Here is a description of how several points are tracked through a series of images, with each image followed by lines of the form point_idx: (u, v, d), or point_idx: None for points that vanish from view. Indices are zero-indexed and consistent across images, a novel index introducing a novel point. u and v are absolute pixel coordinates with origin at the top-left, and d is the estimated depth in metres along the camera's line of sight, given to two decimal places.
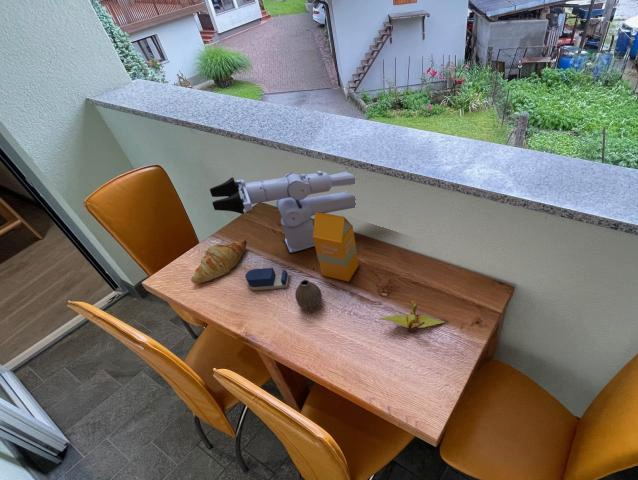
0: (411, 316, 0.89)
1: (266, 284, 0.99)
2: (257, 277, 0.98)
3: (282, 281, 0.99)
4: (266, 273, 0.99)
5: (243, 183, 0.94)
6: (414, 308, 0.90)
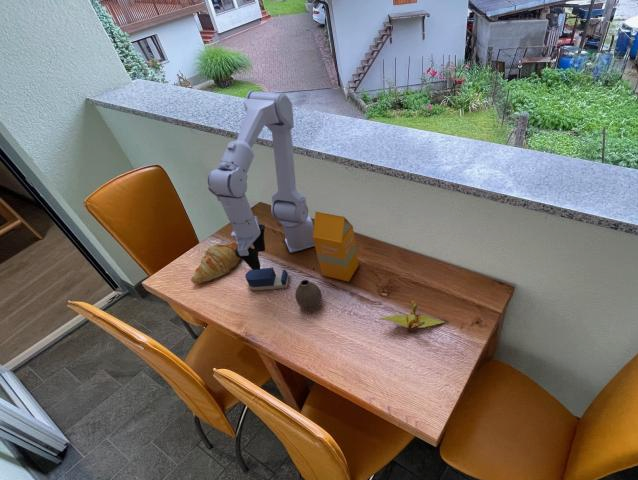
0: (411, 316, 0.89)
1: (266, 284, 0.99)
2: (257, 277, 0.98)
3: (282, 281, 0.99)
4: (266, 273, 0.99)
5: (232, 236, 0.88)
6: (414, 308, 0.90)
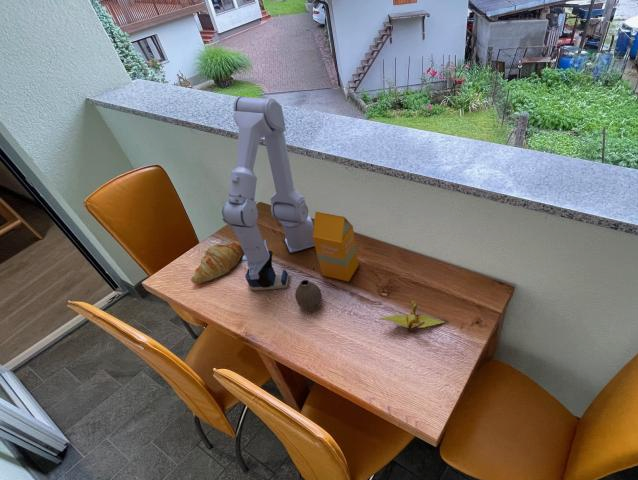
0: (411, 316, 0.89)
1: None
2: None
3: (282, 281, 0.99)
4: None
5: (243, 260, 0.94)
6: (414, 308, 0.90)
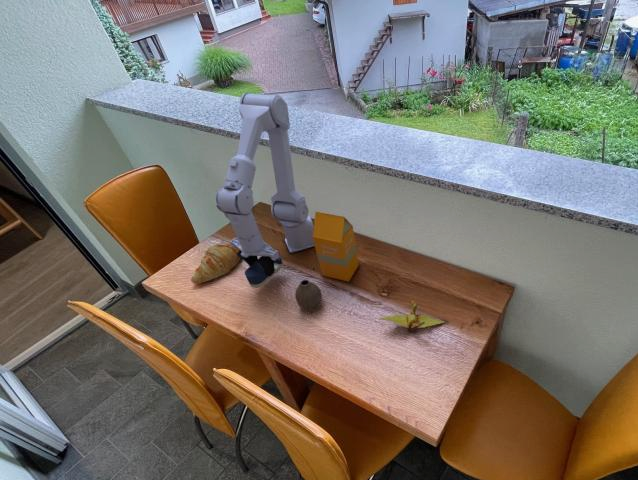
0: (411, 316, 0.89)
1: None
2: (260, 269, 0.95)
3: (280, 260, 1.00)
4: None
5: (247, 255, 0.90)
6: (414, 308, 0.90)
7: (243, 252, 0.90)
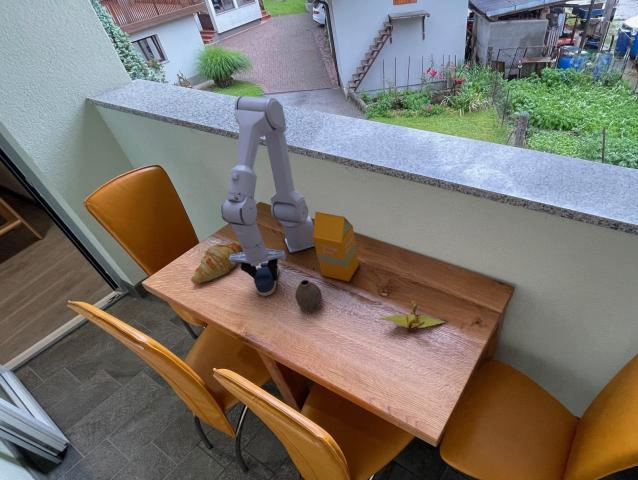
0: (411, 316, 0.89)
1: None
2: (268, 275, 0.98)
3: None
4: (264, 270, 0.99)
5: (258, 263, 0.92)
6: (414, 308, 0.90)
7: (252, 262, 0.92)
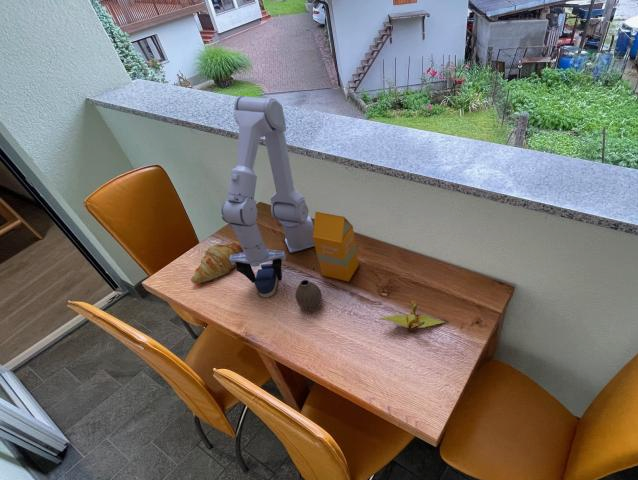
0: (411, 316, 0.89)
1: (275, 277, 1.01)
2: (268, 277, 0.98)
3: None
4: (265, 272, 0.99)
5: (258, 264, 0.92)
6: (414, 308, 0.90)
7: (252, 262, 0.92)
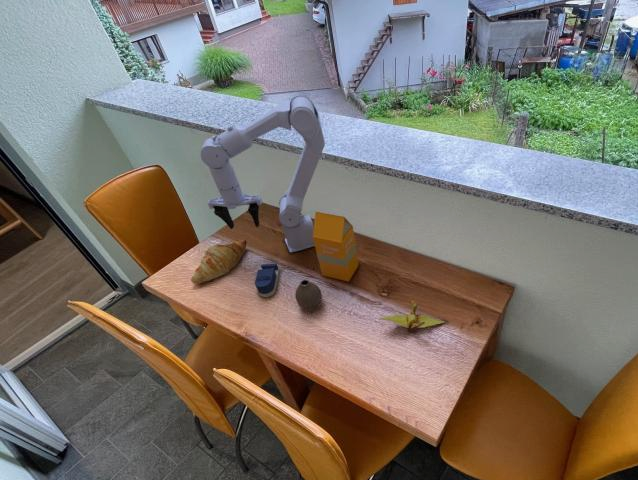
0: (411, 316, 0.89)
1: (275, 277, 1.01)
2: (268, 277, 0.98)
3: (276, 265, 1.04)
4: (265, 272, 0.99)
5: (235, 206, 0.97)
6: (414, 308, 0.90)
7: (229, 205, 0.97)
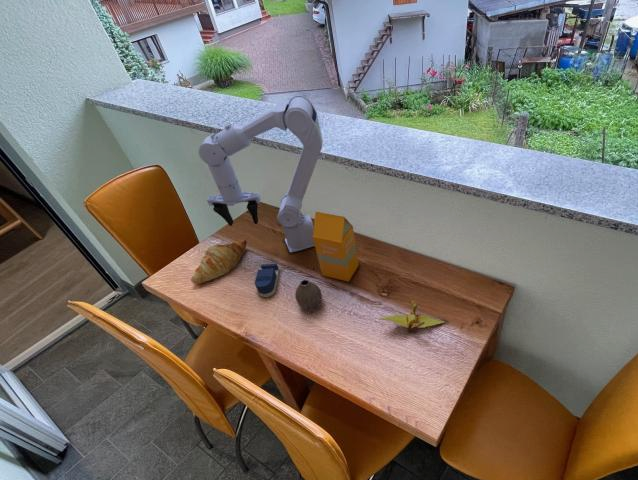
0: (411, 316, 0.89)
1: (275, 277, 1.01)
2: (268, 277, 0.98)
3: (276, 265, 1.04)
4: (265, 272, 0.99)
5: (234, 203, 0.98)
6: (414, 308, 0.90)
7: (228, 202, 0.98)
